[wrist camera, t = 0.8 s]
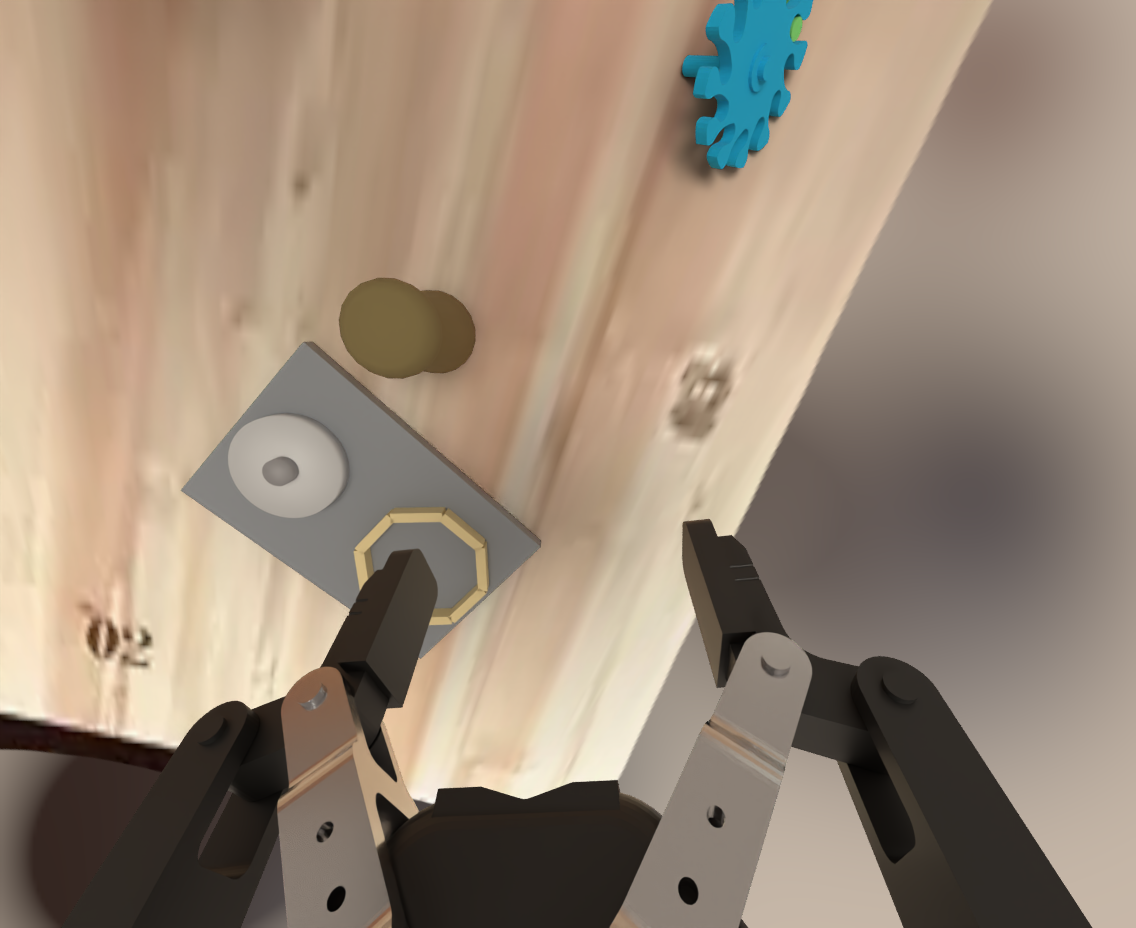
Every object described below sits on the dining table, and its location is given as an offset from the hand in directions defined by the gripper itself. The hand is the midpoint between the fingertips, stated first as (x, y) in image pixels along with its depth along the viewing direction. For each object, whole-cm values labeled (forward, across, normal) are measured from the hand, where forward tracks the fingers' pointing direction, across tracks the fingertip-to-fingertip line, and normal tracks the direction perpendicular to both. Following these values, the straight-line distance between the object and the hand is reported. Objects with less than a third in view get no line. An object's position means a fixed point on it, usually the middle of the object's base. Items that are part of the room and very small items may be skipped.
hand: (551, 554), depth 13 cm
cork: (+23, +10, -1) cm, 25 cm away
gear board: (+18, +18, +12) cm, 28 cm away
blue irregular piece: (+29, -13, -12) cm, 34 cm away
